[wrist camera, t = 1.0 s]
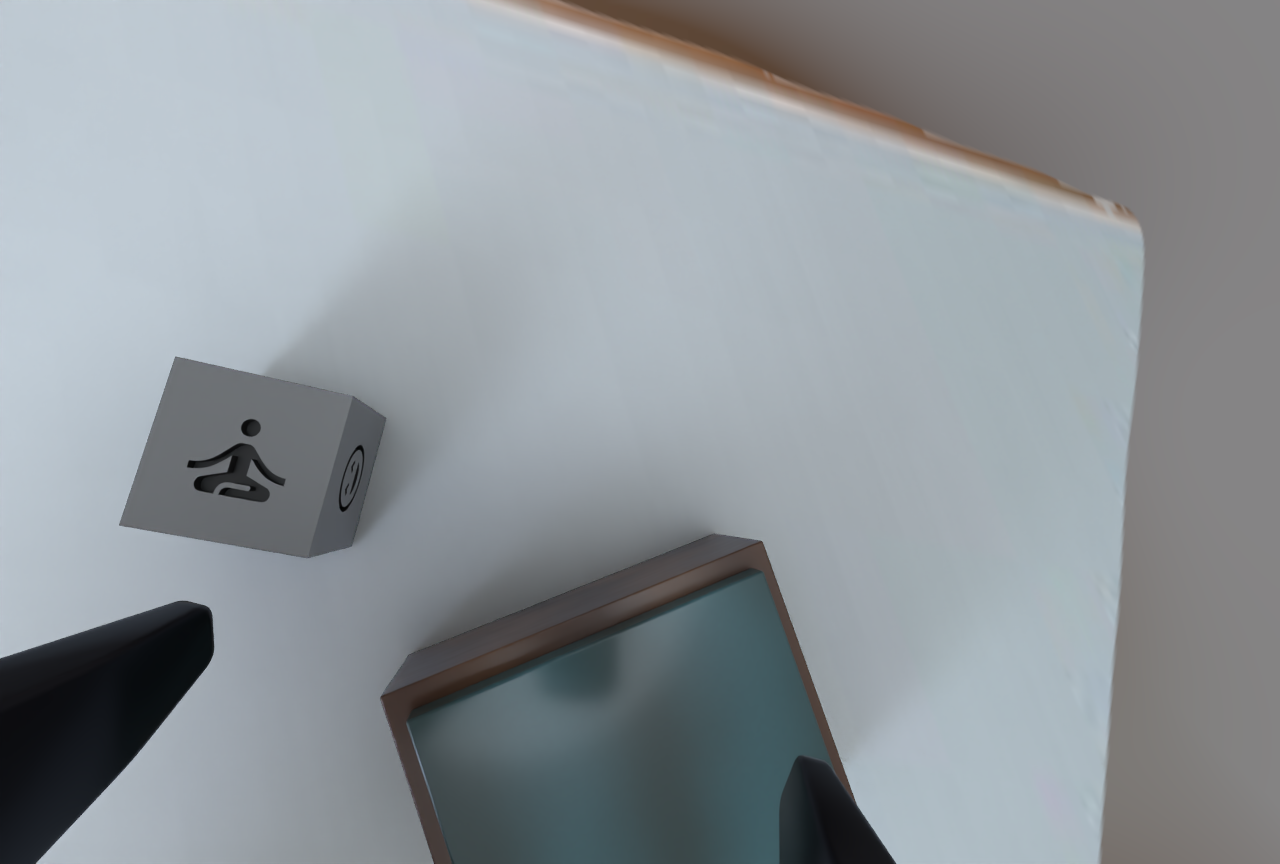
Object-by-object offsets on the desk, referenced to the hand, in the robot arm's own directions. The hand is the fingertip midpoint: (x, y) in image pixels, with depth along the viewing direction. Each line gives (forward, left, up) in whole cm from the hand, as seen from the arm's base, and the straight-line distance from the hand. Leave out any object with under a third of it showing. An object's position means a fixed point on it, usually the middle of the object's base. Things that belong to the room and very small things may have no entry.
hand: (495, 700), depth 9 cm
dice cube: (-6, +7, -15) cm, 18 cm away
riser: (+2, -7, -15) cm, 17 cm away
